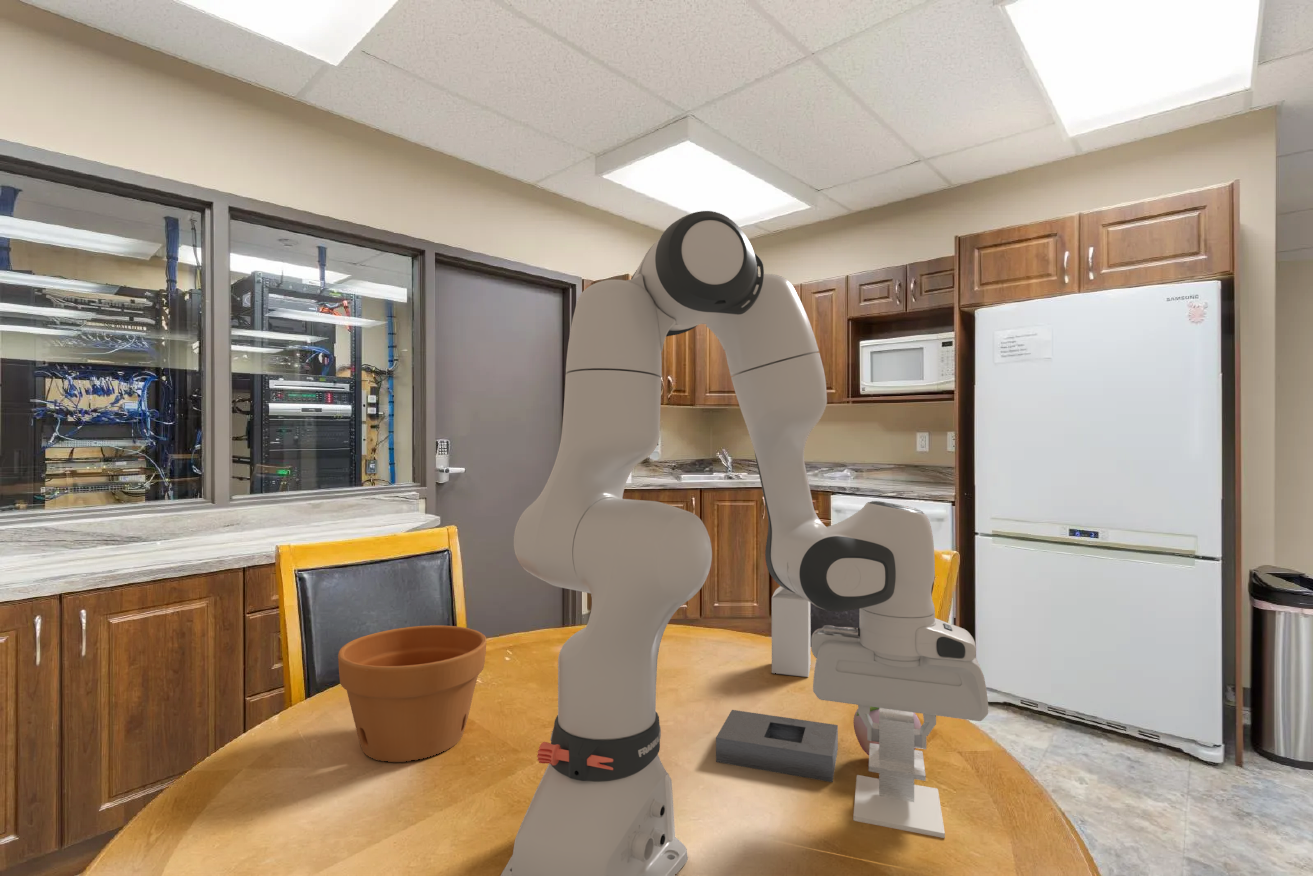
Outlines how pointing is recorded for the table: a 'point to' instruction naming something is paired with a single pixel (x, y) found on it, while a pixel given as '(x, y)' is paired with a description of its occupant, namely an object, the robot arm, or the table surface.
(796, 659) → the milk carton
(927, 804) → the pad
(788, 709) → the table surface
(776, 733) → the post block
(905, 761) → the peg
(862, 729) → the decorative fruit
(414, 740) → the flower pot
